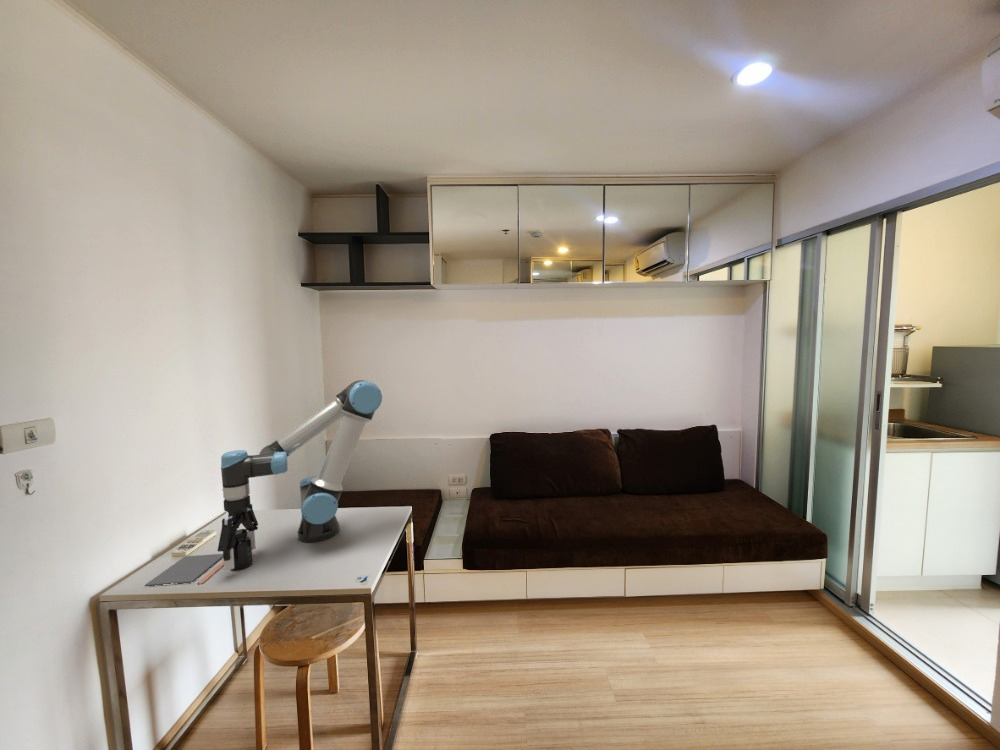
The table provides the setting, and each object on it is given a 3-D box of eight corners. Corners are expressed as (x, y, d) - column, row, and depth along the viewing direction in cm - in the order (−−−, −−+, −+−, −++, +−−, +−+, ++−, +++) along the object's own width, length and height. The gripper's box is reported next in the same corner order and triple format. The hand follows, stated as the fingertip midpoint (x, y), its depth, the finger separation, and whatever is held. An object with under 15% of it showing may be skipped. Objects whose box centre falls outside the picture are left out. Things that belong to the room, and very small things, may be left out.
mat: (226, 555, 144) (225, 553, 144) (192, 583, 126) (192, 581, 126) (184, 558, 143) (184, 556, 143) (144, 586, 125) (144, 584, 125)
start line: (238, 553, 146) (238, 551, 146) (202, 584, 126) (202, 582, 126) (234, 553, 145) (234, 552, 145) (197, 584, 126) (197, 583, 126)
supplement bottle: (245, 559, 141) (243, 526, 140) (257, 563, 138) (255, 529, 137) (224, 568, 135) (222, 534, 134) (236, 573, 132) (234, 537, 131)
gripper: (245, 485, 147) (248, 542, 148) (201, 511, 122) (205, 579, 123) (266, 484, 148) (269, 541, 149) (226, 510, 123) (231, 577, 124)
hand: (240, 558), depth 136 cm, fingers open, 12 cm apart
